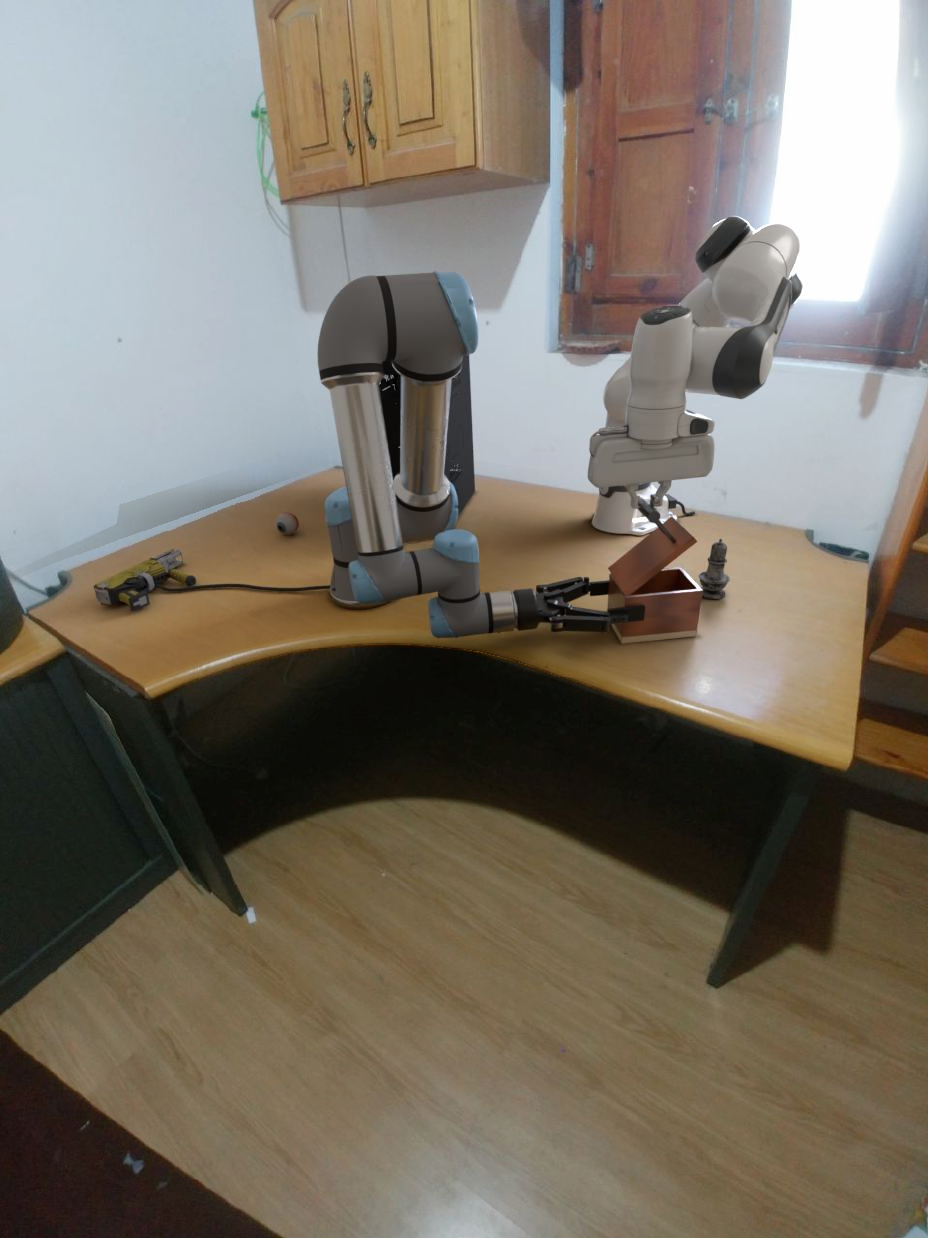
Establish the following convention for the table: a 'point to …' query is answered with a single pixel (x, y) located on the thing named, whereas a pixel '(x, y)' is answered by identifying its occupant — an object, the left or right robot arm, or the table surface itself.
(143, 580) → the toy gun
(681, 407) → the right robot arm
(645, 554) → the lid
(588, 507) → the table surface
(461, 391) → the cardboard box
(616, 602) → the chest
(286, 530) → the eyeball
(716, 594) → the grey chess piece
